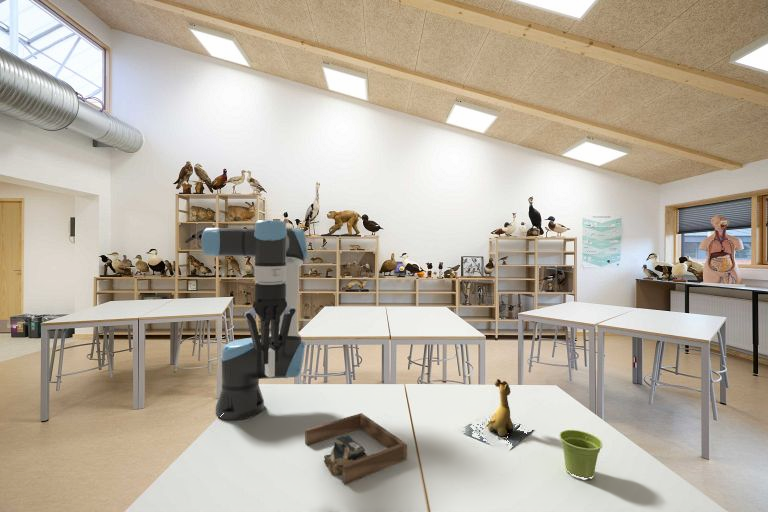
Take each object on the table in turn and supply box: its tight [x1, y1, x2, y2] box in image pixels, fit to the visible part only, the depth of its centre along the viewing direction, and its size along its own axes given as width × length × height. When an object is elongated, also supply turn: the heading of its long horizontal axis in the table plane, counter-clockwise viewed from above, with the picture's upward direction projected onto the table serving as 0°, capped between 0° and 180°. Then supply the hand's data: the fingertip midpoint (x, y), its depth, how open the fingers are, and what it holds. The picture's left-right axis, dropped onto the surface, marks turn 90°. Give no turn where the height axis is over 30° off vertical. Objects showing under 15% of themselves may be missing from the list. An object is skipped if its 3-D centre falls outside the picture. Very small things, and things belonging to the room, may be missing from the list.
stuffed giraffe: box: [461, 378, 531, 448], centre depth 114 cm, size 16×18×16 cm
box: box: [304, 412, 408, 485], centre depth 101 cm, size 22×19×4 cm
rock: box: [323, 434, 368, 476], centre depth 94 cm, size 9×9×6 cm
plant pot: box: [558, 429, 603, 478], centre depth 93 cm, size 9×9×9 cm
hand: (269, 375), depth 95 cm, fingers closed
